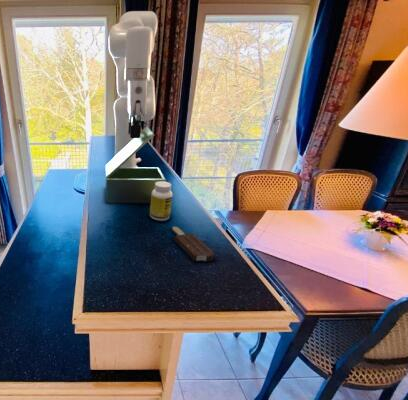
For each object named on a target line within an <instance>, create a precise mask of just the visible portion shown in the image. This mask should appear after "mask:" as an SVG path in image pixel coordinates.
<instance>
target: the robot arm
mask: <svg viewBox="0 0 408 400" xmlns="http://www.w3.org/2000/svg"><path fill="white" fill-rule="evenodd" d="M158 21H159V20H158V15H157V14H156V13H155V12H154V11H152V10H131V11H126V12H125V13H123V14H122V15H121V16H120V19H119V21H118V23H116V24H113V25H112V26H111V28H110V30H109V33H108V51H109V54H110V56H111V57H112V60H113V62H114V65H115V68H116V91H117V95H118V96H119V98H117V99H116V100H115V101H114V103H113V115H114V157H115V156H116V155H117V154H118V153H119V152H120V151H121V150H122V149H123V148H125V147H126V146H127V145H128V144H129V143H130V142H131V141H132V140H133V139H134V138H140V133H141V129H142V122H149V121H152V120H153V119H154V118H155V116H156V90H155V89H156V87H155V79H154V78H153V75H151V65H152V53H153V52H154V50H155V38H156V34H157V32H158V26H159V25H158V23H159V22H158ZM136 153H137V152H136ZM136 153H135V154H134V155H133V156H132V157H131V158H130V159H128V160H127V161H126V162H125V163H124V164H123V165H122V166H121V167H132V168H139V166H138V165H137V164H138V163H140V162H141V161H142V159H141V158H140V157H138V158H137V157H136V155H137V154H136Z"/></svg>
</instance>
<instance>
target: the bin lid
mask: <svg viewBox="0 0 408 400" xmlns="http://www.w3.org/2000/svg"><path fill="white" fill-rule="evenodd" d="M154 136H155V134H154V133H153V131H152V130H151V129H150V128H149V127H148V126H145V127H144V128H143V129H142V128H141V133H140V138H134V139H133V140H132V141H131V142H130V143H129V144H128V145H127V146H126V147H125V148H123V149H122V150H121V151H120V152H119V153H118V154H117V155H116V156H115V155H114V156H113V158H112V159H110V160H109V162H108V163H106V164H105V179H106V178H107V179H108V178H109V177H110V176H111V175H112V174H113V173H114V172H116V171H117V170H118V169H119V168H120V167H121V166H122V165H123V164H124V163H125V162H126V161H127V160H128V159H130V158H131V157H132V156H133V155H134V154H135V153H138V151H139V150H141V149H142V148H143V147H144V146H145V145H146V144H147V143H148V142H149V141H150V140H151V139H153V138H154Z"/></svg>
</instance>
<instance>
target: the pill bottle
mask: <svg viewBox="0 0 408 400" xmlns="http://www.w3.org/2000/svg"><path fill="white" fill-rule="evenodd" d="M171 189H172V184H171V182H167V181H166V182H164V181H159V182H156V183H155V189H154V190H153V191H152V195H151V203H150V206H149V217H150V218H151V219H153V220H155V221H159V222H164V221H165V222H166V221H167V220H169V219H170V217H171V210H172V202H173V195H174V194H173V191H172V190H171Z"/></svg>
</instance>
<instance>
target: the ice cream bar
mask: <svg viewBox="0 0 408 400" xmlns="http://www.w3.org/2000/svg"><path fill="white" fill-rule="evenodd" d="M171 229H172V231H173V232H174V233H175V234H176V235H174V238H173V240H174V242H175V243H176V244H177V245H178V246H179V247H180V248H181V249H182V250H183V251H184V252H185V253H186V254H187V256H189V257H190V258H191V260H192V261H193V262H200V261H202V262H205V263H208V262H211V261H213V260H214V259H215V252H214V251H213V250H212V249H211V248H210V247H209V246H208V245H207V244H205V243H204V242H203V241H202V240H201V239H200V238H199V237H198V236H196V234H195V233H193V232H190V233H184V231H182V230H181V229H180V228H179V227H178V226H172V228H171Z"/></svg>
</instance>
